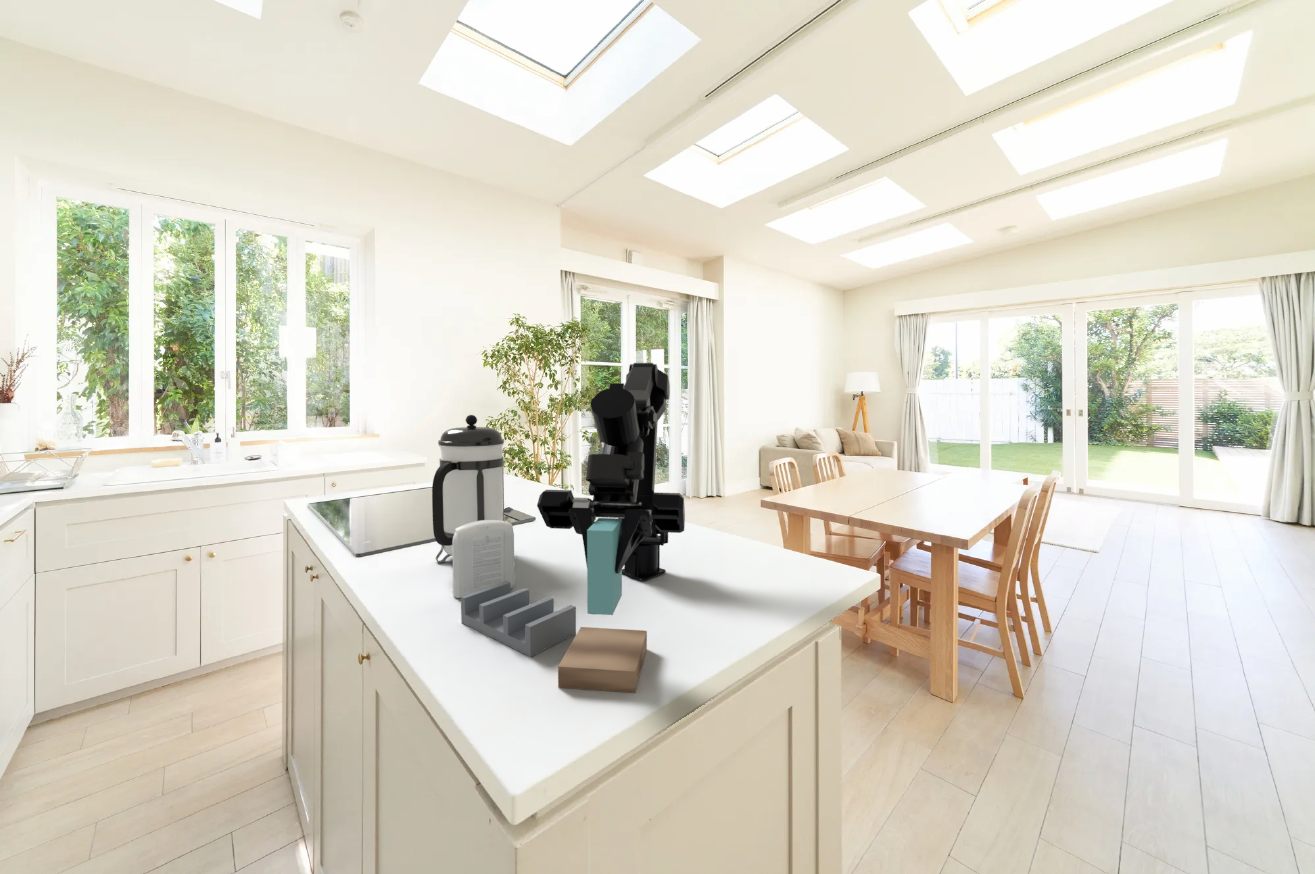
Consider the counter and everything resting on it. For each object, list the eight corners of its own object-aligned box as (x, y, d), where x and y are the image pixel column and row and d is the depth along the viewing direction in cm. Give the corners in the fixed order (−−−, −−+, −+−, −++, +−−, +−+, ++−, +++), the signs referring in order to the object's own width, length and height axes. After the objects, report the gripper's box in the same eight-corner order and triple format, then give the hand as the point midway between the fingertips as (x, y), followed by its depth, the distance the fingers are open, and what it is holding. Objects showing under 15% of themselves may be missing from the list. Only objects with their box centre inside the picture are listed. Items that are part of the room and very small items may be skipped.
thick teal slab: (599, 593, 64) (598, 517, 63) (621, 595, 63) (621, 518, 63) (587, 613, 58) (587, 530, 57) (612, 615, 57) (612, 531, 57)
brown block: (580, 644, 67) (580, 626, 66) (646, 648, 66) (646, 630, 65) (558, 687, 57) (558, 666, 57) (635, 692, 56) (635, 671, 56)
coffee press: (427, 552, 106) (423, 414, 104) (502, 542, 114) (500, 413, 112) (434, 578, 91) (430, 416, 89) (521, 564, 99) (519, 415, 97)
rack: (507, 605, 79) (506, 581, 79) (575, 633, 70) (575, 606, 69) (461, 622, 73) (460, 596, 73) (530, 657, 63) (529, 627, 63)
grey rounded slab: (510, 581, 90) (509, 514, 89) (518, 588, 86) (516, 519, 85) (450, 593, 84) (448, 522, 83) (455, 601, 81) (454, 527, 80)
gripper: (541, 428, 64) (507, 534, 54) (684, 430, 62) (678, 541, 52) (560, 478, 72) (534, 579, 62) (687, 482, 70) (681, 586, 60)
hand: (602, 571), depth 59 cm, fingers closed on thick teal slab, 3 cm apart
